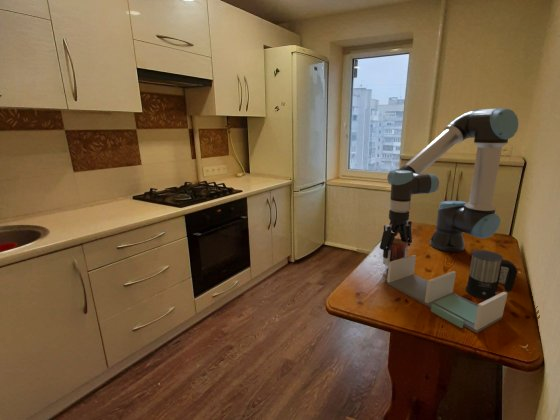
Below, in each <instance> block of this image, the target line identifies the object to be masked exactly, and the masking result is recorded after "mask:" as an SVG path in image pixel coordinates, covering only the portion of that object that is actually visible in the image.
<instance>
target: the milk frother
mask: <svg viewBox="0 0 560 420" xmlns="http://www.w3.org/2000/svg"><path fill="white" fill-rule="evenodd" d="M470 261H471V262H470V268H469V275H468V278H467V279H468V280H467V284H466V287H465V291H466V292H467V293H468V294H469V295H471V296H473V297H475V298H479V299H483V300H484V299H485V300H488V299H490V298H492V297H494V296H496V295H497V294H496V293H497V292H498V288H499V284H500V283H499V277H500V272H501V267H507V268H508V269H509V270H508V274H507V277H506V281H505V284H503V285H504V286H503V288H504V291H505V292H506V293H510V292H512V290H513V288H514V284H515V281H516V278H517V274H518V269H517V266H516V265H515V264H514V263H513V262H512V261H510V260H508V259H504V257H503V255H501V254H499V253H498V252H497V253H496V252H494V251H491V250H485V249H476V250H473V251H471V259H470Z"/></svg>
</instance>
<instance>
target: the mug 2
mask: <svg viewBox="0 0 560 420" xmlns="http://www.w3.org/2000/svg"><path fill="white" fill-rule="evenodd" d="M508 270H509V269H508V268H507V267H501V272H500V277H499V283H498V284H502V285H505V281H506V277H507V274H508Z"/></svg>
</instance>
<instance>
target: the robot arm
mask: <svg viewBox="0 0 560 420" xmlns="http://www.w3.org/2000/svg"><path fill="white" fill-rule="evenodd" d="M518 129H519V118H518V116H517V114H516V113H515V111H514V110H512V109H510V108H503V107H502V108H500V107H498V108H485V109H473V110H469V111H466V112H465V113H463V114H461V115H459V116H457V117H456V118H454V120H452V121H451V122H449V123H448V124H447V125H446V126H445V127H444V128H443V130H442V132H441V133H440V134H439V135H437V136H436V138H434V139H432V141H431V142H429V143H428V144H427V145H426V146H425V147H424V148H423V149H421V150H420V151H419V152H418V153H417V154H416V155H414V156H413V157H411V159H409V160H408V161H407V162H406V163H405V164H404V165H402V166H401V167H400V168H394V169H392V170H390V171H389V173H388V174H387V179H386V180H387V183H388V184H390V200H389V211H388V219H389V221H390V222H389V223H388V224H384V225H383V232H382V236H381V241H380V243H379V244H380V245H379V249H380V250H382V252H383V253H382V258H383V259H382V264H383V265H385V266H387V267H389V262H390V254H391V251H390V247H391V245H392V243H393V240H394V238H396V237H397V236H398V234H399V236H400V239H401V240H402V242H407V241H408V242H409V243H408V245H407V248H406V252H405V257H407V252H408V247H410V246H411V244H412V243H413V235H412V224H413V223H412V222H413V221H410V220H409V219H410V211H411V210H410V209H411V202H412V201H411V200H412V196H413V195H421V194H423V195H424V194H426V195H427V194H430V193H431V194H432V193H434V192H436V191H438V189H439V187H440V186H439V185H440V180H439V177H438V176H437V175H436V174H433V173H426V174H424V171H426V170H427V169H428V168H429V167H430V166H431V165H433V164H434V163H435V162H436V161H437V160H439V159H440V158H441V157H442V156H443V155H445V154H446V152H448V151H449V150H451V148H453V147H454V146H455V145H458V144H461V143H462V142H463V141H465V140H466V139H469V138H470V139H473V138H474V139H473V140H474V141H473V144H474V145H475V146H476V153H475V161H474V167H473V172H472V173H473V174H472V180H471V186H470V191H469V192H470V193H469V199H468V202H467V201H462V200H444V201H441V202H440V203H439V207H438V210H437V219H436V224H435V225H436V227H435V230H434V232H433V234H432V235H431V238H430V241H429V245H430V246H431V247H432V248H434V249H436V250H439V251H440V250H441V251H443V252H449V253H450V252H451V253H457V252H459V253H460V252H463V251H465V240H464V236H463V233H465V234H467V235H469V236H473V237H475V238H479V239H487V238H490V237H492V236H493V235H494V234H495V233H496V232H497V231H498V229H500V225H501V218H500V216H499V215H498V214H496V210H497V209H496V207H495V206H494V204H493V201H494V194H495V191H496V184H497V178H498V174H499V173H498V172H499V166H500V161H501V155H502V150H503V147H505V146H506V145H507V144H508V141H509V139H513V137H514V136H515V135H516V133H517V132H518Z"/></svg>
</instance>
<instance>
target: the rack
mask: <svg viewBox="0 0 560 420" xmlns="http://www.w3.org/2000/svg"><path fill="white" fill-rule="evenodd" d="M416 259H417V255H415V254H412V255H409V256H406V257H404V258H401V259H398V260H394V261H391V262H389V266H387V267H388V269H387V279H386V285H388V286H390V287H391V288H393V289H396V290H397V291H399V292H401V293H402V294H404V295H406V296H408V297H410V298H411V299H413V300H415V301H418V302H419V303H421V304H423V305H424V306H425V307H428V308H430V312H431V313H433V314H434V315H436V316H439V317H441V319H444V320H446V321H448V322H450V323H451V324H453V325H455V326H457V327H458V328H460V329H463V328H467V329H468V330H470V331H472V332H474V333H475V334H478V333H480V332H481V331H483V330H485V329H487V328H489V327H491V326H492V325H494V324H495V323H497V322H499V321H501V320H502V319H503V315H504V311H505V306H506V303H507V297H508V292H507V291H503V292H500V293H498V294H496V296H494V297H492V298H490V299H485V300H484V301H482V302H480V303H476V302H473V301H471V300H469V299H467V298H465V297H463V296H461V295H458V294H456V293H455V292H454V286H455V280H456V276H457V275H456V274H457V272H456V271H454V270H451V271H449V272H447V273H444V274H441V275H438V276H436V277H433V278H431V279H425V278H422V277H420V276H418V275H417V274H415V267H416Z"/></svg>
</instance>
